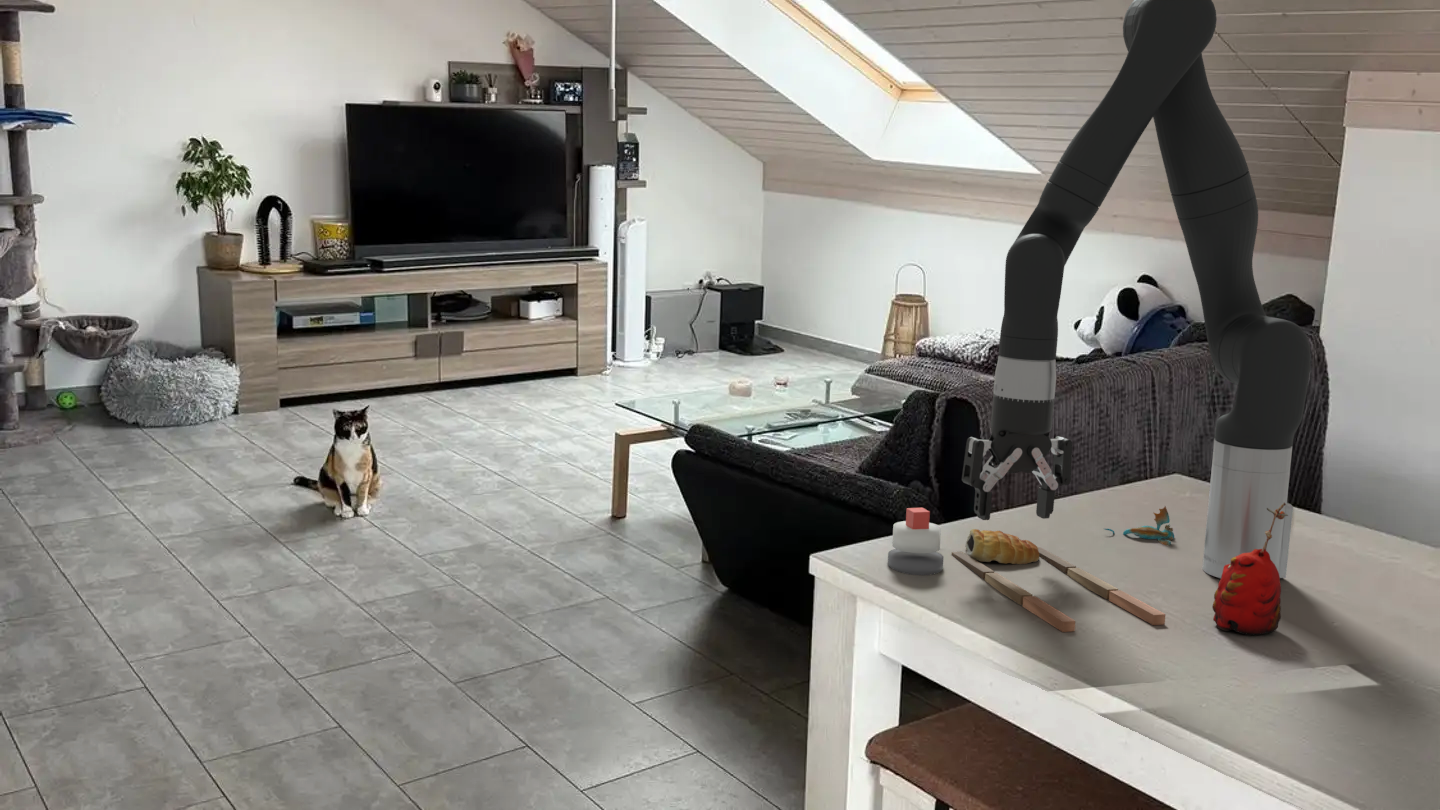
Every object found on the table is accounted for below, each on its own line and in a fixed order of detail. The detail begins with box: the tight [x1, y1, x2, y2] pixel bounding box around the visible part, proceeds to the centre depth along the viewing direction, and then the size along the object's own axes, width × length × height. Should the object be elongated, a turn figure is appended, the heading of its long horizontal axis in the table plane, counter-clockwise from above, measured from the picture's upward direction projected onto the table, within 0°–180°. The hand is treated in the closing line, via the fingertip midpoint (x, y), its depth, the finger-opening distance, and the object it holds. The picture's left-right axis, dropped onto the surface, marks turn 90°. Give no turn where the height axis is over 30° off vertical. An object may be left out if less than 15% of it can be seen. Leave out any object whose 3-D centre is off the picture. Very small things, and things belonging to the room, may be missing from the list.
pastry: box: [965, 528, 1040, 565], centre depth 170 cm, size 9×7×4 cm
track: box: [951, 546, 1167, 633], centre depth 159 cm, size 13×28×1 cm, turn 16°
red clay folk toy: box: [1212, 503, 1288, 636], centre depth 145 cm, size 8×7×15 cm
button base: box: [887, 548, 944, 576], centre depth 165 cm, size 7×7×2 cm
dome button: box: [891, 507, 942, 553], centre depth 165 cm, size 6×6×5 cm
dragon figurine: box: [1104, 505, 1175, 547], centre depth 181 cm, size 6×7×8 cm
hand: (1013, 518), depth 166 cm, fingers open, 8 cm apart
